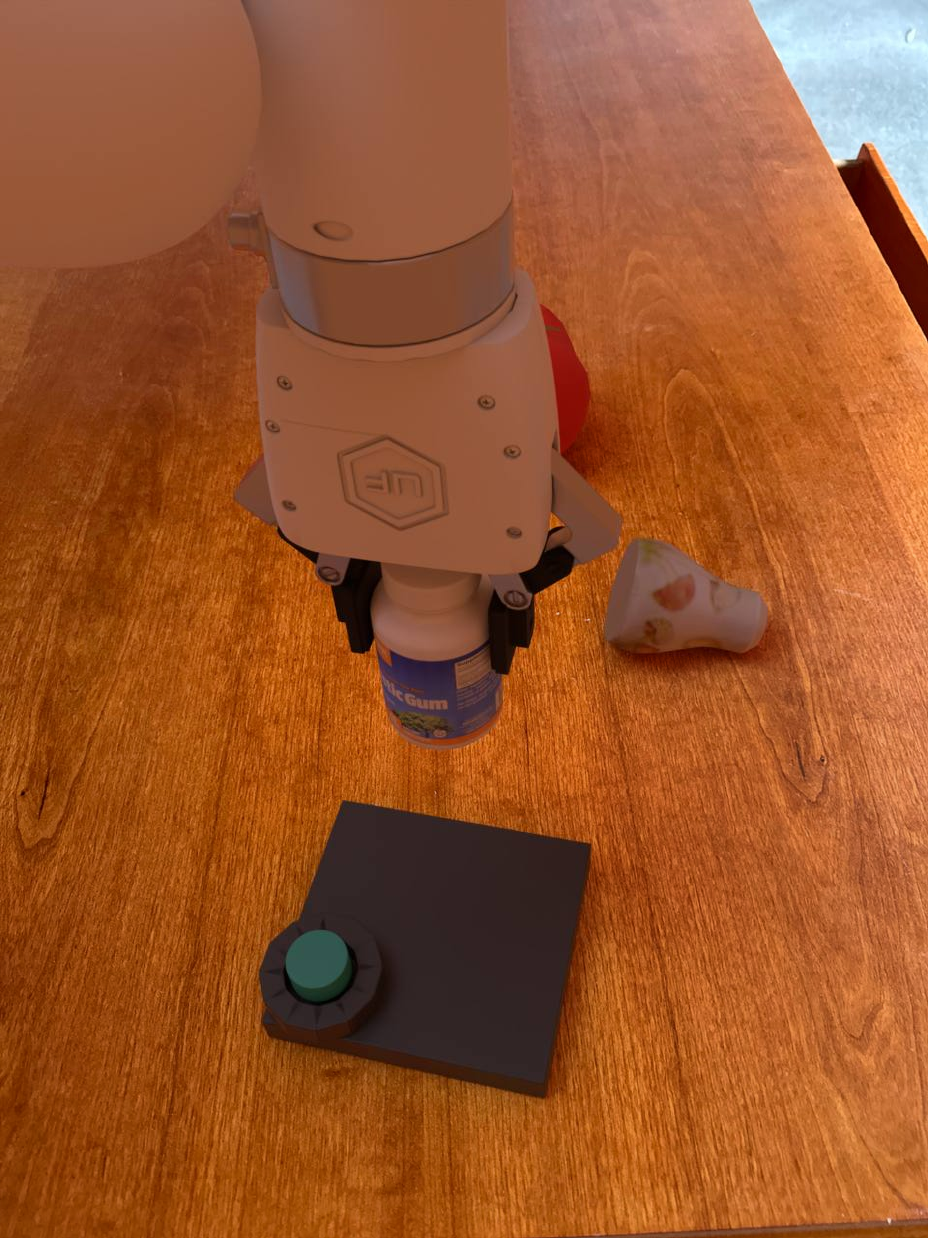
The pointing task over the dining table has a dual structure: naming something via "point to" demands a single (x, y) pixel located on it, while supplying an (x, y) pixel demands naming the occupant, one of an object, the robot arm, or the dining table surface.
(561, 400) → the tomato
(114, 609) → the dining table surface
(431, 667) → the pill bottle
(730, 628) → the white floral vase
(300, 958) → the button
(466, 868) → the scale
